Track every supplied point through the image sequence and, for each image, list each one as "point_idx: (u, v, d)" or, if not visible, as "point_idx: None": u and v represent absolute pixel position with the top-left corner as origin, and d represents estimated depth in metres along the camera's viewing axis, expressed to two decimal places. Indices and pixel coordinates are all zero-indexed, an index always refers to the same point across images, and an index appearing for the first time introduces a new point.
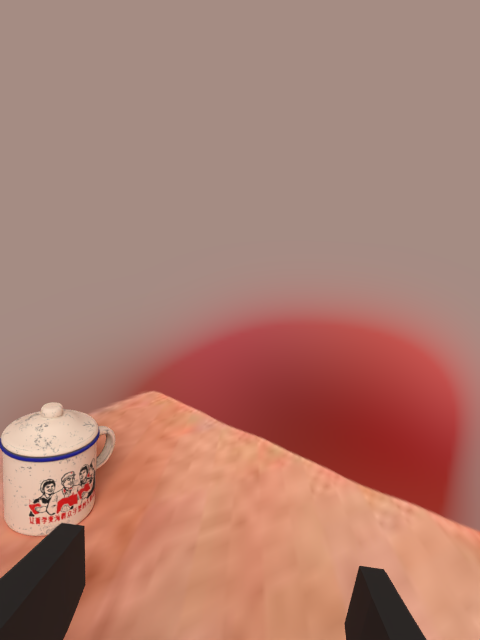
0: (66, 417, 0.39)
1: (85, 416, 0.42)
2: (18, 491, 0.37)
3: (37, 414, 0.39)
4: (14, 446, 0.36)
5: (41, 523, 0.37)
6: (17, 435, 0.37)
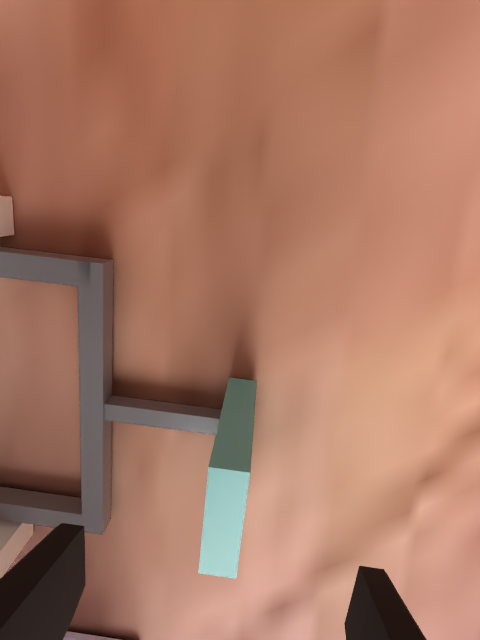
0: None
1: None
2: None
3: None
4: None
5: None
6: None
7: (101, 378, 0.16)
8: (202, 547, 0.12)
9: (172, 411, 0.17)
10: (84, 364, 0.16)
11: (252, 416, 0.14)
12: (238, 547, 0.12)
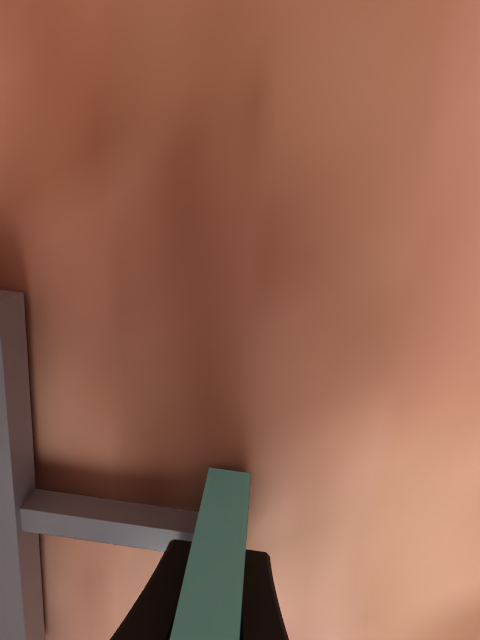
0: None
1: None
2: None
3: None
4: None
5: None
6: None
7: (9, 474, 0.11)
8: None
9: (122, 520, 0.11)
10: None
11: (241, 565, 0.08)
12: None
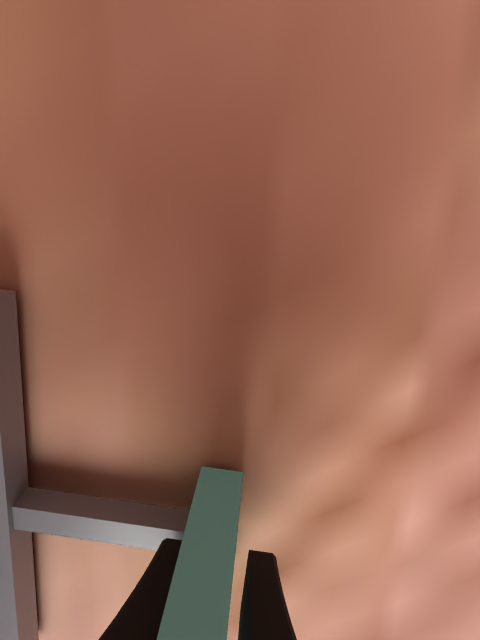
0: None
1: None
2: None
3: None
4: None
5: None
6: None
7: (1, 472, 0.11)
8: None
9: (114, 518, 0.11)
10: None
11: (231, 563, 0.08)
12: None
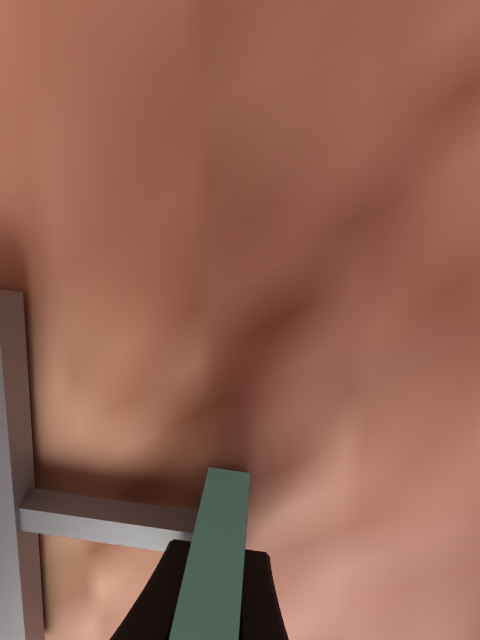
0: None
1: None
2: None
3: None
4: None
5: None
6: None
7: (8, 474, 0.11)
8: None
9: (122, 519, 0.11)
10: None
11: (241, 564, 0.08)
12: None
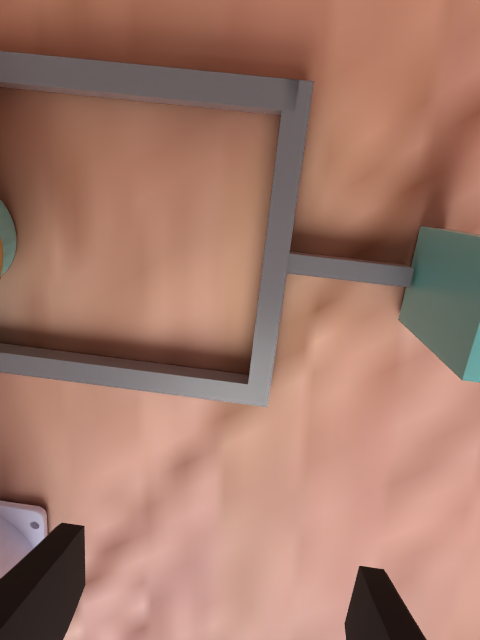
0: None
1: None
2: None
3: None
4: None
5: None
6: None
7: (292, 220, 0.15)
8: (473, 347, 0.11)
9: (361, 261, 0.16)
10: (276, 204, 0.15)
11: None
12: None
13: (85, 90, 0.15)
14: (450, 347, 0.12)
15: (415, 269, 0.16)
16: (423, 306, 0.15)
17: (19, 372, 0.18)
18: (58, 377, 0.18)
